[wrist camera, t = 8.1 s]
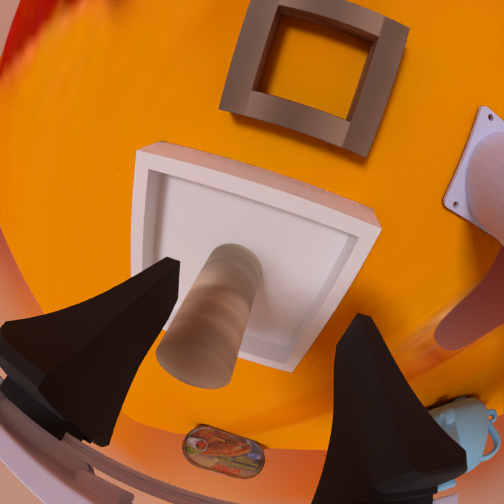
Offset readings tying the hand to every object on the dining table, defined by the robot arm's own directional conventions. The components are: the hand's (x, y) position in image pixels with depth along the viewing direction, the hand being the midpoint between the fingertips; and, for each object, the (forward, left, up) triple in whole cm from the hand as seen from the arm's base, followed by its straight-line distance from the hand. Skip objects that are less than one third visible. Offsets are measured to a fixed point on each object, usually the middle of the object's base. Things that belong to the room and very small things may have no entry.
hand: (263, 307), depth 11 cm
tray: (+2, +5, -9) cm, 11 cm away
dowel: (+2, +5, -8) cm, 10 cm away
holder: (+1, -10, -9) cm, 14 cm away
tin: (-5, +43, -10) cm, 44 cm away
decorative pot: (-34, +22, -10) cm, 42 cm away
